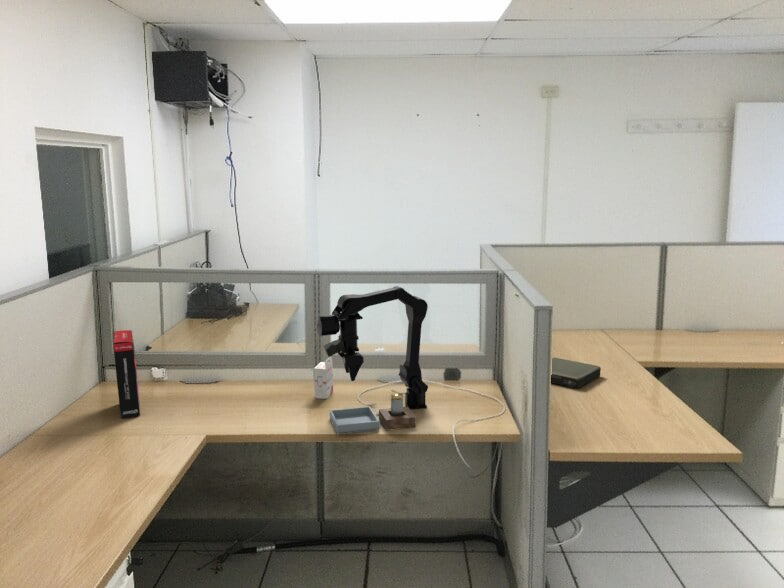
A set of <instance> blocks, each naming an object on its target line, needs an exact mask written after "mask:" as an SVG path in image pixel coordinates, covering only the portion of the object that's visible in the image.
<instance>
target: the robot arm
mask: <svg viewBox="0 0 784 588" xmlns="http://www.w3.org/2000/svg"><path fill="white" fill-rule="evenodd" d="M396 300H398V301H399V302H401V303H402V304H403V305H405V306H404V307H405V314H406V317H407V321H408V323H407V324H408V326H407V337H406V338H407V340H406V351H405V352H406V353H405V361H404V363H403V364H399V372H398V376H399V378H400V379H399V380H400V381H402V383H404V385H405V387H406V392H405V393H404V403H405V405H406V407H408V408H409V410H413V409H414V410H415V409H423V408H424V409H425V408H428V405H427V404H426V394H427V392H428V389H429V386H428V385H427V384H426V383H425V382H424V381H423V376H422V370H421V369H422V368H421V366H420V353H421V352H420V351H421V349H420V348H421V336H422V324H423V322H424V321H425V318H426V317H427V316H426V315H427V313H428V308H429V306H428V303H427V301H426V300H425V299H423V298H421V297H418V296H416V295H413V294H411V293H410V292H408V291H407V290H405V288H403V287H401V286H399V285H398V286H397V285H396V286H395V285H394V286H392V287H390V288H385V289H381V290H376V291H373V292H369V293H364V294H353V293H352V294H343V295H341V296H339V298H338V300H337V301H336V302H337V305H335V308H334V309H333V310H332V312H331V314H327V315H325V314H324V315H323V314H321V315H318V319H317V323H316V330H317V334H318V336H319V337H324V336H333V335H335V336H336V335H337V334H338V333H340V334H339V335H338V338H337V339H336V340H332V341H331V342H328V343H326V344H324V345H323V348H324V351H325V353H326V355H327V358H329V357H331V356H332V357H333V356H334V355H336V354H338V356H339V357H340V358H341V359H342V362H343V365H344V369H345V373H346V374H349V377H350V378H349V379H350V382H355V380H356V378H357V376H358V374H359V371H360V369H361V367H362V366H363V363H364V356H363V355H362V353H360V348H359V346H358V340H360V339H359V336H358V323H357V322H358V321H359V320H362V319H363V316H362V315H360V313H359V312H361V311H362V310H364V309H366V308H368V307H371V306H375V305H380V304H383V303H387V302H392V301H396Z"/></svg>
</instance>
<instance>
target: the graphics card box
mask: <svg viewBox="0 0 784 588" xmlns="http://www.w3.org/2000/svg"><path fill="white" fill-rule="evenodd" d="M133 335H134V334H133V330H131V329H130V330H129V329H128V330H124V329H123V330H114V331H113V332H112V346H113V347H112V348H113V356H114V366H115V376H116V385H117V386H116V387H117V395H118V404H119V412H120V418H121V419H125V418H132V417H133V418H134V417H140V416H141V405H140V392H139V381H138V371H137V362H136V361H137V360H136V352H135V344H134V342H135V340H134V336H133Z"/></svg>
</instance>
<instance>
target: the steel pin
mask: <svg viewBox="0 0 784 588" xmlns="http://www.w3.org/2000/svg"><path fill="white" fill-rule="evenodd" d="M403 407H404V394H403V393H401V392H392V393H391V394H390V408H391V417H394V416H403Z"/></svg>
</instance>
